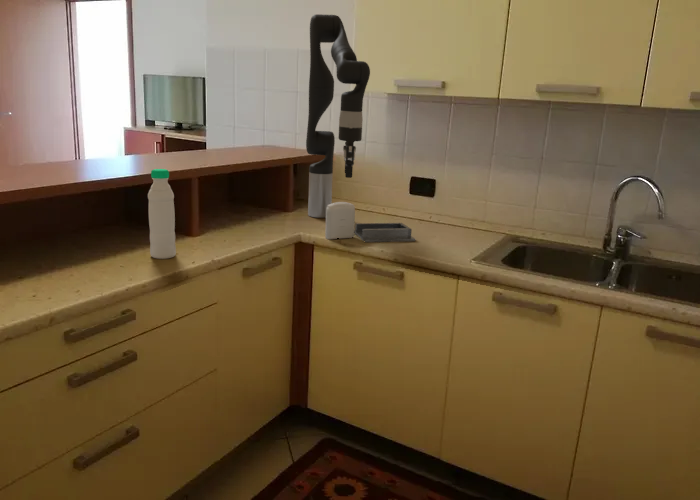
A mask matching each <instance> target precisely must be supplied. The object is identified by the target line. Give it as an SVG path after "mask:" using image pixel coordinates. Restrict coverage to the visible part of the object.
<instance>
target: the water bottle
mask: <svg viewBox="0 0 700 500" xmlns="http://www.w3.org/2000/svg"><path fill="white" fill-rule="evenodd" d="M150 175H151V176H150V177H151V179H152V180H153V181H152V182H153V183H152V184H151V186H150V188H149V190H148V193H147V199H148V225H149V242H150V245H149V246H150V247H149V254H150V256H151V257H152V258H154V259H158V260H165V259H166V260H167V259H171V258H174V257H175V256H176V254H177V248H176V232H175V229H176V227H175V226H176V222H175V221H176V217H175V214H176V213H175V204H174V203H175V201H174V198H175V194H174V192H173V189H172V187H171V185H170V184H169V182H168V180H169V178H170V171H169V170H168V169H166V168H154V169H152V170H151V172H150Z"/></svg>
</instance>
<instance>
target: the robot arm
mask: <svg viewBox="0 0 700 500" xmlns="http://www.w3.org/2000/svg"><path fill="white" fill-rule="evenodd" d="M322 43H324V44H326V43H328V44H330V43H331V44H332V46H331V48H330V54H331V57H332V60H333V61H334V64H335V67H336V79H337V80H338V81H339V82H340V83H341V84H344V85H345V84H347V85H355V87H354V88H353V89H352V90H350V91H349V90H348V91H345V92H342V94H341V96H340V112H339V117H338V118H339V119H338V120H339V121H338V140H339V141H342V142H345V144H344V145H343V147H342V148H343V149H342V150H343V160H344V174H345V175H344V176H345V178H347V179H350V178H351V179H352V177H353V169H354V168H353V166H354V164H355V162H354V161H355V159H356V151H357V150H356V149H357V147H356V145H354V144H355V142H361V141H362V140H363V139H362V138H363V122H364V121H363V117H364V116H363V106H364V105H363V104H364V102H363V101H364V96H365V92H366V88H367V85H368V83H369V79H370V76H371V68H370V66H369V64H368V62H366V61H360V60H358V59H357V55H356V53H355V51H354V50H353V48H352V47H351V45H350V42H349V39H348V37H347V32H346V30H345V26H344V23H343V21H342V19H341V18H340V16H339V15H337V14H336V15H335V14H320V13H319V14H312V16H311V18H310V22H309V48H310V50H309V51H310V52H309V56H310V57H309V58H310V60H309V63H310V64H309V65H310V66H309V77H308V78H309V79H308V81H309V82H308V115H307V116H308V117H307V119H308V120H307V128H306V130H307V131H306V139H305V140H306V142H305V146H306V148H305V150H306V152H307V154H309V155H310V156H311V155H312V156H324V158H323V159H321V160H320V161H318V162H313V163H311V164H310V165H309V168H308V171H309V172H308V175H309V176H308V201H307V202H308V203H307V207H308V208H307V215H308V216H309V217H312V218H318V219H320V218H323V219H324V218H325V219H326V207H327V205H329V204H332V203H333V201H332V200H333V198H332V197H333V172H334V152H335V133H334V132H333V131H328V130H327V131H325V130H316V129H317V126H318V123H319V121H320V120H321V118H322V116H323V115H324V113H325V112H326V111H327V109H328V108H329V107H330V105H331V103H332V102H333V99H334V95H335V94H334V93H335V79H334V76H333V74H332V72H331V70H330V68H329V67H328V65H327V63H326V62H325V59H324V56H323V54H322V49H321V44H322Z"/></svg>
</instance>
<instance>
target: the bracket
mask: <svg viewBox="0 0 700 500" xmlns="http://www.w3.org/2000/svg"><path fill="white" fill-rule="evenodd" d="M354 235H356V236H357V235H358V236H359V237H360V238H361V239H360V238H359V237H358V236H357V237H358V238H359V239H360V240H362V241H363V242H364V241H365V242H364V243H391V242H392V243H396V242H416V238H415V237H413V236H412V228H411V227H409V226H407V225H406V224H405V223H403V222H370V223H368V222H367V223H366V222H362V223H360V222H359V223H357V222H356V223H355V226H354Z"/></svg>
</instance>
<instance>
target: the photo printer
mask: <svg viewBox="0 0 700 500" xmlns="http://www.w3.org/2000/svg"><path fill="white" fill-rule="evenodd" d="M355 219H356V206H355V204H353V203H350V202H346V201H336V202H332V204H329V205H327V207H326V217H325V233H324V234H325V235H324V236H325V239H326V240H337V238H339V239H348V238H349V239H350V238H352V237H353V238H354V237H355V233H354V230H355V225H356V223H355V222H356V221H355Z"/></svg>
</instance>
